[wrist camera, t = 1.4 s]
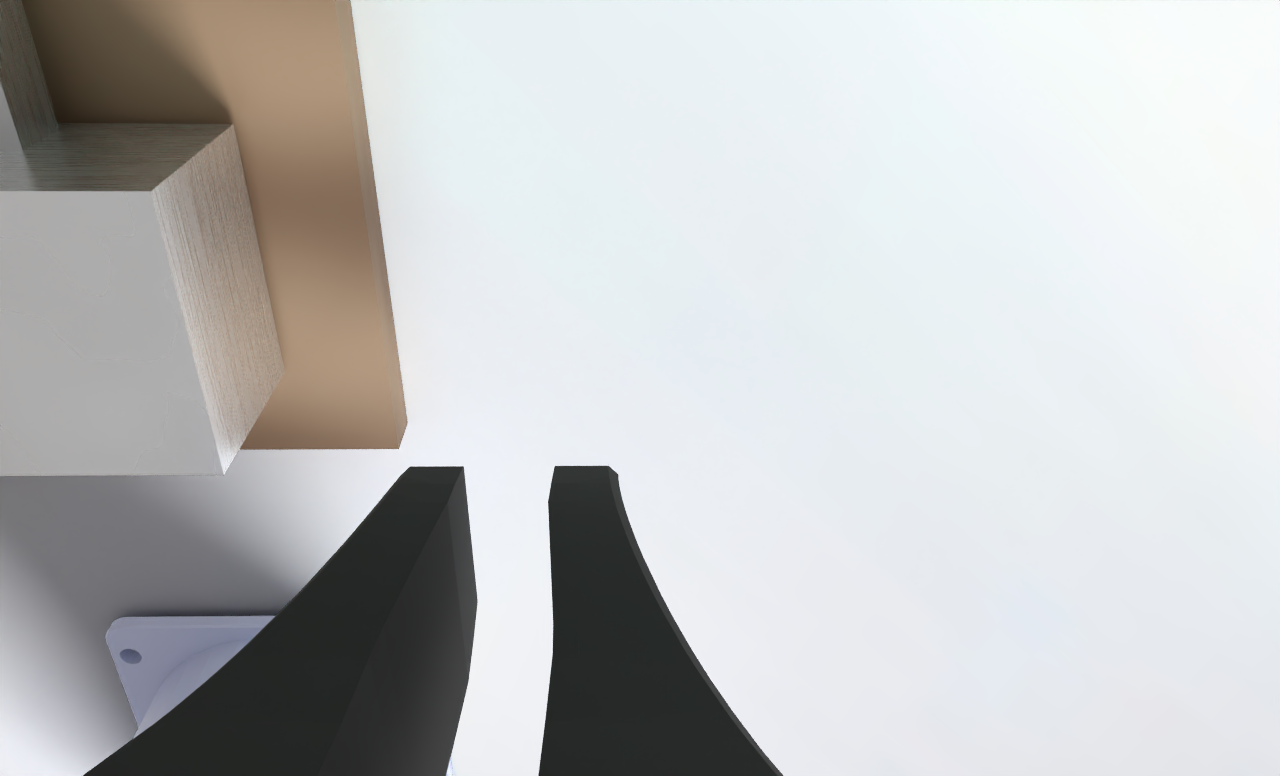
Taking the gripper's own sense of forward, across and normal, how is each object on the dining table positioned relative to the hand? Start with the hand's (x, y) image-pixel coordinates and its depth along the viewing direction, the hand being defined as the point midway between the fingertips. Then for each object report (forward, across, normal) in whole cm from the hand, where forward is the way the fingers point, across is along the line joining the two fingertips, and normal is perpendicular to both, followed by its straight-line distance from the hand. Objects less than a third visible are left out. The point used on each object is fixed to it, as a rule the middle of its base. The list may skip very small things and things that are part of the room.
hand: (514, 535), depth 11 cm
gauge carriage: (+8, +8, -2) cm, 11 cm away
